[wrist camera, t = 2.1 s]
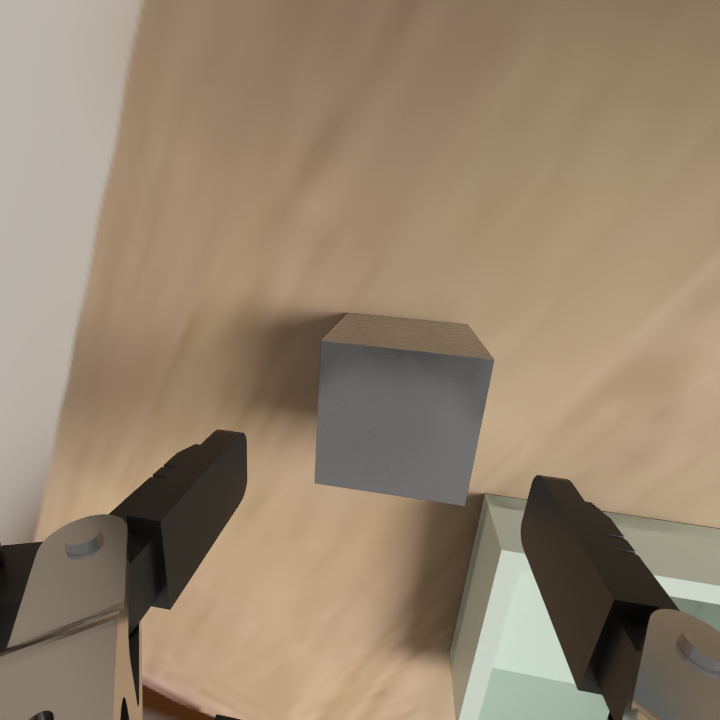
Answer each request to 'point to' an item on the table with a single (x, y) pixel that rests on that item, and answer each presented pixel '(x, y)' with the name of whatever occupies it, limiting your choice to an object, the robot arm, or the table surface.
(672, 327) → the table surface
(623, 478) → the table surface
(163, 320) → the table surface
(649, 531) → the tote
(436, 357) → the iron cube
